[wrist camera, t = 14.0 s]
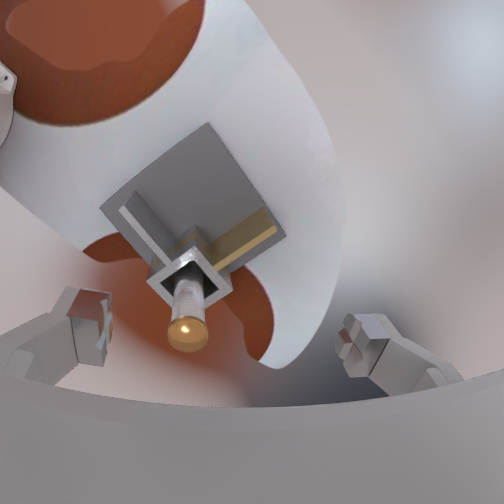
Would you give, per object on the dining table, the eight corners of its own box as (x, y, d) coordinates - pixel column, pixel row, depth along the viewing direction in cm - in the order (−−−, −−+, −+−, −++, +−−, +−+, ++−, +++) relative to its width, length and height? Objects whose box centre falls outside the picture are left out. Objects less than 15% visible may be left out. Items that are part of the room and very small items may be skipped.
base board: (101, 205, 45) (99, 207, 44) (207, 122, 43) (207, 122, 42) (185, 299, 55) (185, 303, 54) (284, 233, 53) (286, 236, 52)
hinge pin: (170, 257, 50) (159, 334, 33) (192, 242, 49) (190, 314, 32) (187, 277, 52) (185, 357, 35) (209, 262, 51) (216, 339, 34)
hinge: (112, 209, 45) (97, 227, 38) (210, 133, 43) (212, 137, 36) (186, 292, 53) (185, 321, 46) (278, 230, 51) (292, 251, 44)
